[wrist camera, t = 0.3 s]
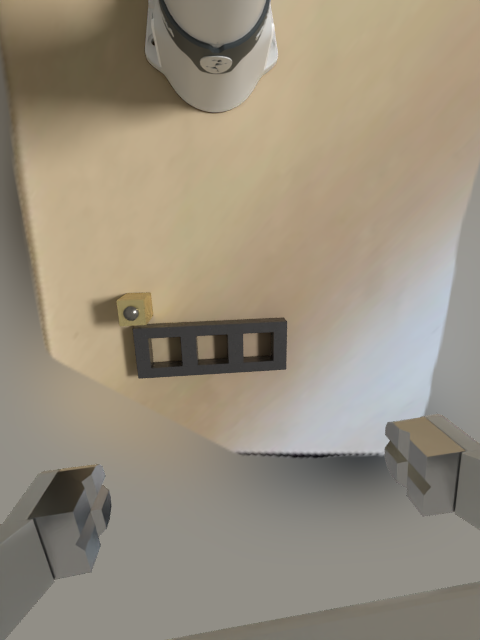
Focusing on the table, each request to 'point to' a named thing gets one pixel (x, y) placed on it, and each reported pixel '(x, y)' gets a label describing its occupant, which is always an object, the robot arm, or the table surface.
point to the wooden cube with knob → (134, 309)
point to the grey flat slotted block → (210, 366)
